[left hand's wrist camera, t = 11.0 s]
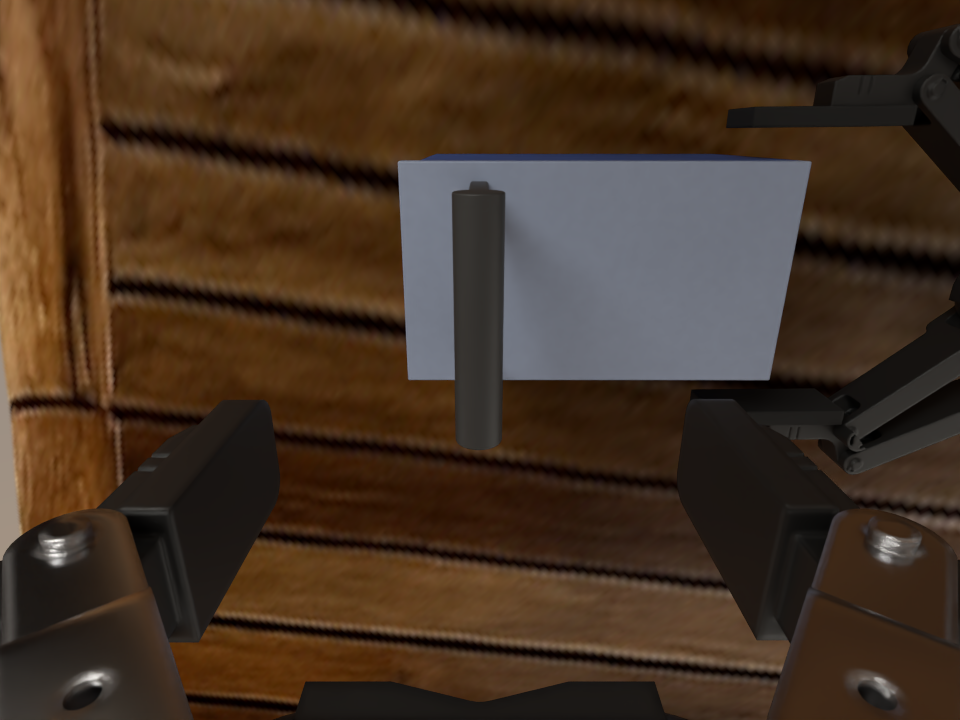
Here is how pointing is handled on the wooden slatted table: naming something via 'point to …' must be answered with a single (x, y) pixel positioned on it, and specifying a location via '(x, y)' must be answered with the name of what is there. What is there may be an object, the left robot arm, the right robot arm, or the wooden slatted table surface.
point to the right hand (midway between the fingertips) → (716, 275)
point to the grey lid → (592, 273)
